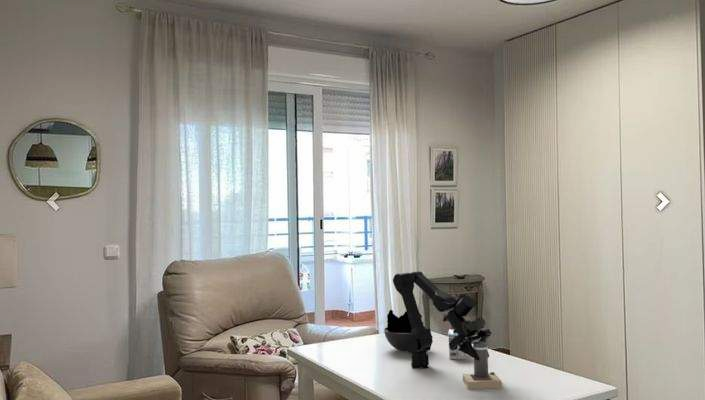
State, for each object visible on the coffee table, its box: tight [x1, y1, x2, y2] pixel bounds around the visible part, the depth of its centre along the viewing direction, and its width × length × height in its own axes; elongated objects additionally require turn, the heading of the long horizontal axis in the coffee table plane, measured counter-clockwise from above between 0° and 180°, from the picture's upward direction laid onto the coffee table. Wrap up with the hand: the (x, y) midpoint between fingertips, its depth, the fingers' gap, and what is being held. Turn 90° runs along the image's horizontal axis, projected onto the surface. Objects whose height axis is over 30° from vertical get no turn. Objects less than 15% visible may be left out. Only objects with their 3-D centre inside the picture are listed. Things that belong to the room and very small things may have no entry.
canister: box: [472, 341, 489, 378], centre depth 203 cm, size 5×5×12 cm
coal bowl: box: [383, 309, 428, 352], centre depth 255 cm, size 20×20×19 cm
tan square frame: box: [462, 371, 503, 390], centre depth 203 cm, size 12×10×3 cm
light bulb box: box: [447, 328, 466, 360], centre depth 243 cm, size 11×7×11 cm, turn 168°
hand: (483, 358), depth 202 cm, fingers closed on canister, 5 cm apart
